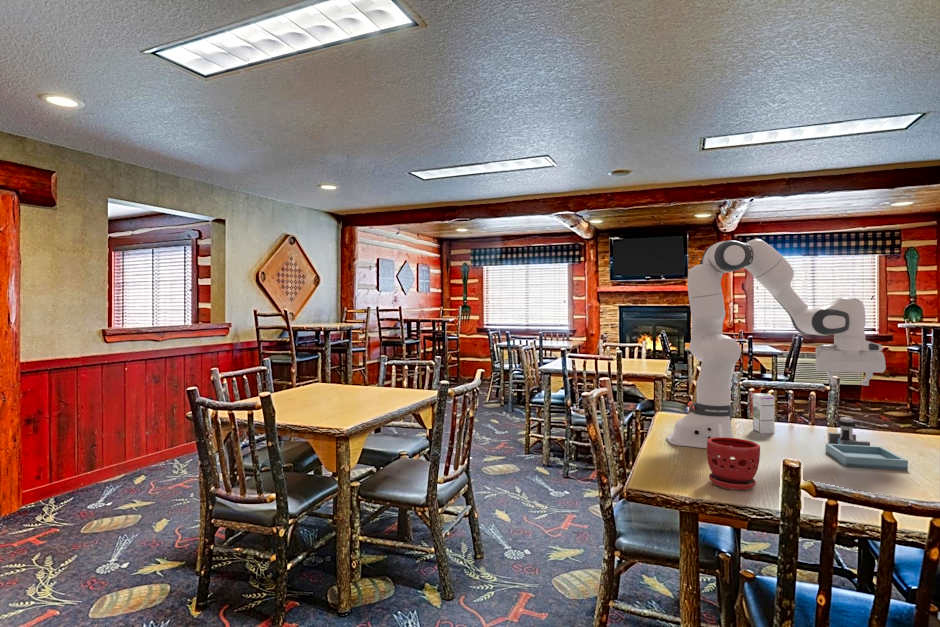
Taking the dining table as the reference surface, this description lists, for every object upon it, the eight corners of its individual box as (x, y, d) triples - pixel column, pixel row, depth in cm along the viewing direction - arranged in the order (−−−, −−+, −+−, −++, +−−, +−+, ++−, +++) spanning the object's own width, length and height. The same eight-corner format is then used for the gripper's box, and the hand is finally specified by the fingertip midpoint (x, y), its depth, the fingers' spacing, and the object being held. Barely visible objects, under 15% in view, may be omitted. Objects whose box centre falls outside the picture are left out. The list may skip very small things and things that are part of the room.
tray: (846, 466, 164) (846, 456, 164) (825, 452, 179) (825, 443, 179) (907, 470, 160) (907, 460, 160) (881, 455, 175) (881, 446, 175)
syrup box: (775, 433, 205) (775, 395, 205) (759, 433, 205) (759, 395, 205) (767, 429, 211) (767, 393, 211) (751, 429, 211) (752, 393, 211)
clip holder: (842, 451, 181) (842, 440, 180) (828, 442, 192) (828, 432, 192) (869, 452, 179) (870, 442, 178) (853, 443, 190) (854, 433, 190)
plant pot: (762, 496, 139) (762, 450, 139) (706, 489, 144) (706, 444, 144) (757, 480, 151) (757, 438, 151) (706, 474, 156) (706, 433, 156)
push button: (863, 449, 183) (863, 419, 183) (853, 450, 181) (853, 421, 181) (843, 444, 189) (843, 416, 189) (833, 445, 187) (833, 417, 187)
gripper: (818, 345, 184) (818, 385, 184) (888, 345, 179) (887, 387, 179) (812, 343, 190) (811, 382, 191) (878, 344, 185) (878, 384, 185)
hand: (849, 385), depth 185 cm, fingers open, 8 cm apart
